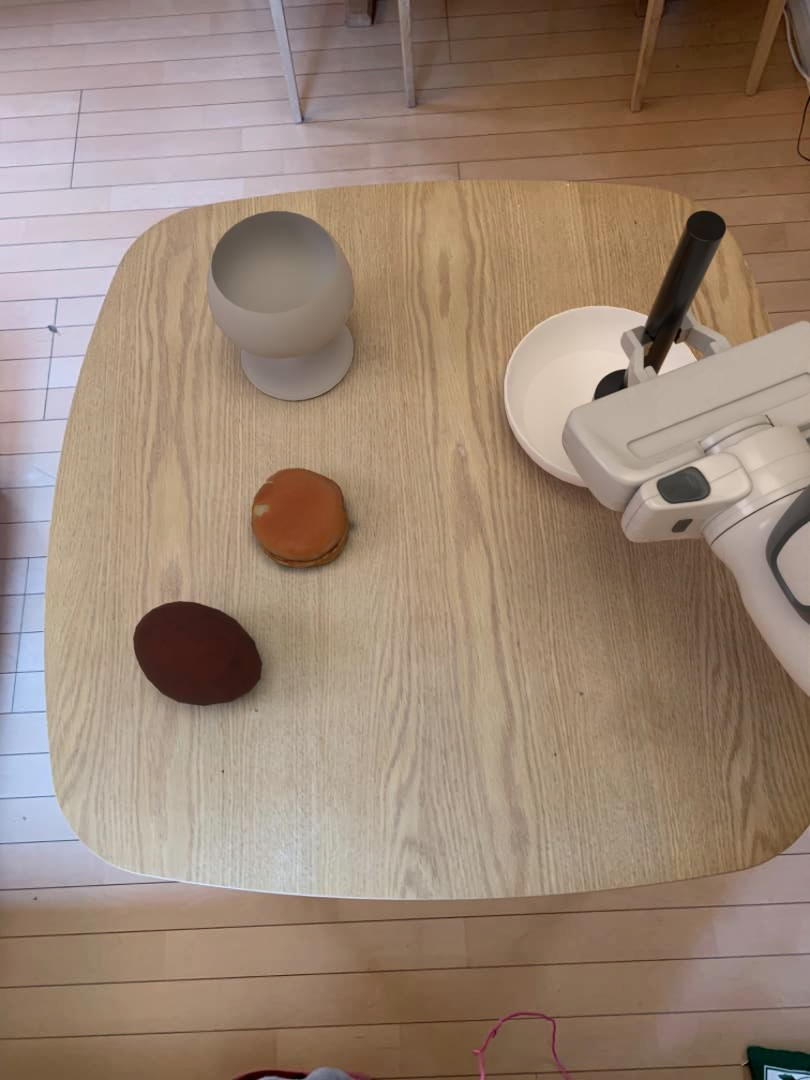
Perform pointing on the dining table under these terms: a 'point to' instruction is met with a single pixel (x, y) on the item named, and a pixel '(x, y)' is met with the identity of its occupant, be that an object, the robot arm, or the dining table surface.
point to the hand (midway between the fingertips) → (652, 324)
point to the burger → (300, 518)
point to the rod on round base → (674, 293)
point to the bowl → (567, 376)
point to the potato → (196, 654)
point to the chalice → (284, 303)
